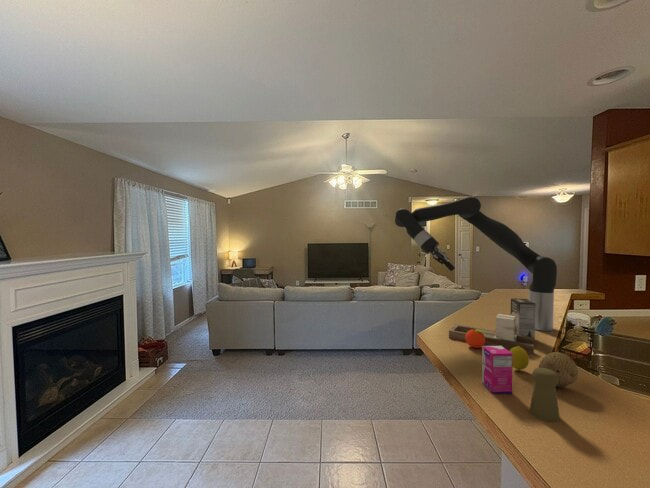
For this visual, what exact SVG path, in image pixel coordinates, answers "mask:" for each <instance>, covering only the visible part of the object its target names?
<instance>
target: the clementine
mask: <svg viewBox="0 0 650 488" xmlns="http://www.w3.org/2000/svg"><path fill="white" fill-rule="evenodd" d="M484 334H485V333H484V332H482V331H480V330H476V329H472V330H469V331H468V332H467V333H466V336H465V338H466V341H465V343H467V345H468V346H469V347H471V348H474V349H479V348H482V346H485V345H484V343H485V336H484ZM485 335H486V334H485ZM486 336H487V335H486ZM487 338H488V337H487Z"/></svg>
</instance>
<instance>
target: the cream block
mask: <svg viewBox="0 0 650 488" xmlns="http://www.w3.org/2000/svg"><path fill="white" fill-rule="evenodd" d="M510 315H511V314H510ZM510 315H508V314H501V313H497V315H496V316H495V331H496V337H497V338H503V339H508V340H514V337H515V316H510Z"/></svg>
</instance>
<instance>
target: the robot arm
mask: <svg viewBox="0 0 650 488" xmlns="http://www.w3.org/2000/svg"><path fill="white" fill-rule="evenodd" d="M481 209H482V203H481V201H480V200H479V198H477V197H475V196H467V197H463V198H461V199H459V200H455V201H451V202H447V203H443V204H437V205H430V206H424V207H418V208H415V209H414V211H412V212H411V211H410V210H409V209H407V208H404V207H403V208H399V209H398V210H397V211H396V213H395V215H394V216H395V218H394V224H395V225H396V226H397V227H400V228H405V231H406V232H407V233H406V234H408V236H409V238H410V237H411V239H412V240H413V241H414V243H415V244H416V245H417V246H418V247H419V248H420V249H421V250H422V251H423V252H424V253H425V254H426V255H429V254H431V255H432V259H433V260H436V262H438V263H440V264H441V265H443V266H445V267H446V268H447V269H448V270H449V271H450V272H452V271H454V270H455V269H456V267H455V266H454V265H453V264H452V262H450V258H449V256H448V255H447V254H446V252H444V251H443V250H442V249H440V248H438V247H439V245H440V243H439V242H438V241H437V240H436V239H435V237H434V236H433V235H431V234H430V233H429V232H428V231H427V230H426V229H425V228H424V227H422V225H421V224H420V223H424V222H425V223H426V222H430V221H436V220H439V219H444V218H447V217H450V216H457V215H458V216H459V217H460V218H461V219H462V220H465V221H466V222H467V223H469V224H471V225H473V227H475V228H476V229H477V230H479V231H480V232H481V233H482V234H484V236H486V237H487V238H488V239H489V240H490V241H491V242H493V243H495V244H496V245H497V246H498V247H500V249H502V250H504V251H505V252H506V253H508V254H509V255H511V256H512V257H513V258H515V259H516V260H518V261H519V262H520V264H522V266H524V268H525V269H526V270H527V271H528V272H529V273H531V274H532V281H531V283H530V284H529V288H528V293H529V294H528V300H530V301H532V302H533V303H535V304H536V310H535V331H536V330H537V331H541V332H551V331H554V302H555V299H554V298H555V297H554V295H555V288H556V286H557V275H558V274H557V273H558V269H557V268H558V265H557V264H556V261H555V260H554V259H553V258H551V257H547V256H542V255H540V254H538V253H537V252H535V251H534V250H533V249H531V248H530V247H529V246H528V245H526V243H525V242H524V241H523V239H522V238H521V237H520V236H519V234H517V233H516V232H515V231H514V230H513V229H512V228H510V227H509V226H507V225H506V224H505V223H502V222H500V221H498V220H496V219H493V218H491V217H489V216H487V215H486V214H484V213H483V212H482V211H481Z"/></svg>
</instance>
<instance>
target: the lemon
mask: <svg viewBox="0 0 650 488" xmlns="http://www.w3.org/2000/svg"><path fill="white" fill-rule="evenodd" d="M508 351H509V352H511V353H512V368H514V369H515V370H516V371H518V372H519V371H521V370H525V369H526V368H527V367H528V366H529V361H530V358H529V353H527V352H526V351H525V350H524V349H523V348H521V347H520V346H517V347H513V348H512V349H511V350H510V349H509V350H508Z"/></svg>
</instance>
